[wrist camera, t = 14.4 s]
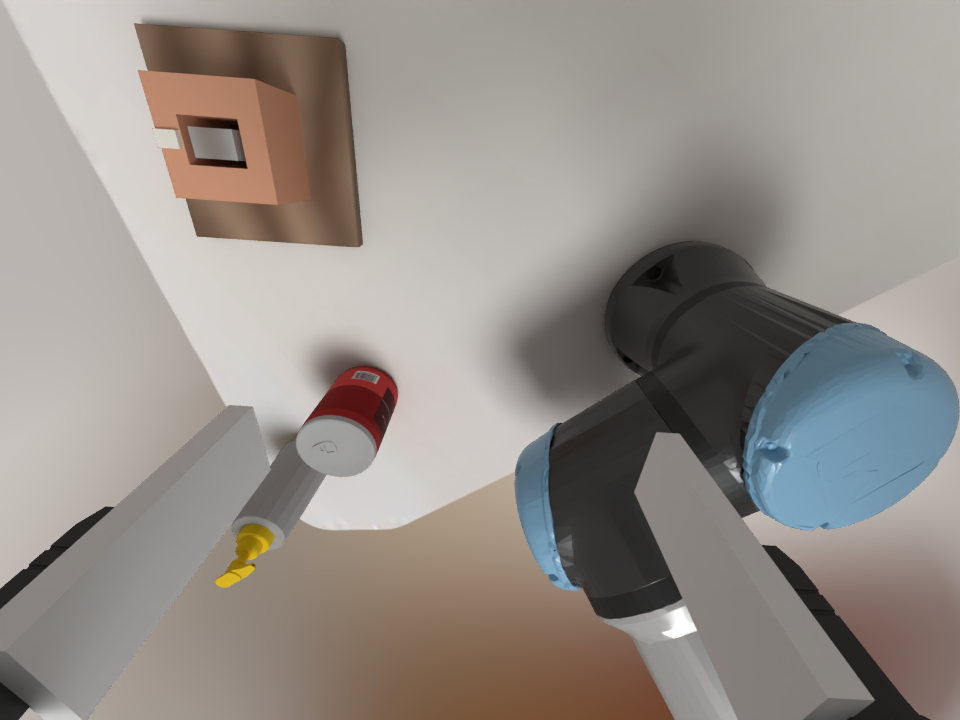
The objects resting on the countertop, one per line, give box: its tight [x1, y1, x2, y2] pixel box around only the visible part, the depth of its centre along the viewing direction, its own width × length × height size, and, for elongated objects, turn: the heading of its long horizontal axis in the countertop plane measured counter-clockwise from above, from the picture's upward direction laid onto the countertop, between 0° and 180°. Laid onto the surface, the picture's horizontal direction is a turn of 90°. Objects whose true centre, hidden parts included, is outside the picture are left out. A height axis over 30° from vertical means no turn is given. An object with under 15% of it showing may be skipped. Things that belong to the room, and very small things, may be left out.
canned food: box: [296, 366, 398, 477], centre depth 40 cm, size 8×8×11 cm
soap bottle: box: [216, 440, 326, 588], centre depth 42 cm, size 7×7×18 cm
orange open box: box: [138, 70, 311, 205], centre depth 29 cm, size 8×8×6 cm
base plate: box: [134, 23, 363, 247], centre depth 30 cm, size 16×16×8 cm
